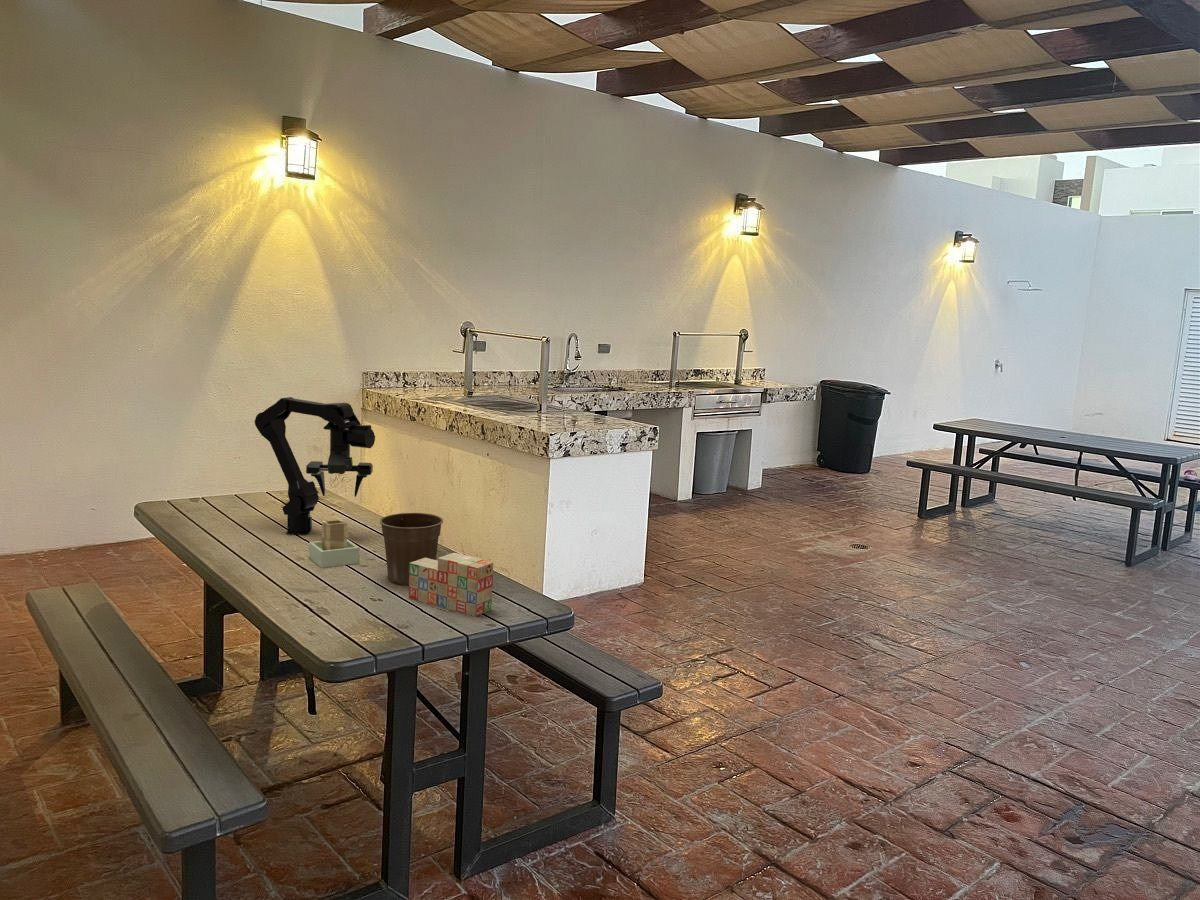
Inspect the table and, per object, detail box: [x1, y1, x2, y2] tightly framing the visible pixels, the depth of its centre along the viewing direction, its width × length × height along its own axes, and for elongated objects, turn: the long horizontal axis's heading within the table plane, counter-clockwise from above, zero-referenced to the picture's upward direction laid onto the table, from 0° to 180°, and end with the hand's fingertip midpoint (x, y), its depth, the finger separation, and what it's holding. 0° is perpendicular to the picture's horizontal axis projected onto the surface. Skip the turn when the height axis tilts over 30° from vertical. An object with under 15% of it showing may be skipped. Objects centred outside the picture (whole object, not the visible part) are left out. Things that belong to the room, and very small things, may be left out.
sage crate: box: [308, 538, 360, 569], centre depth 255 cm, size 11×11×4 cm
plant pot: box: [379, 512, 444, 586], centre depth 241 cm, size 16×16×16 cm
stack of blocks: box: [408, 552, 494, 617], centre depth 224 cm, size 21×6×12 cm, turn 59°
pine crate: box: [321, 519, 348, 551], centre depth 254 cm, size 5×5×10 cm
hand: (339, 496), depth 276 cm, fingers open, 9 cm apart
